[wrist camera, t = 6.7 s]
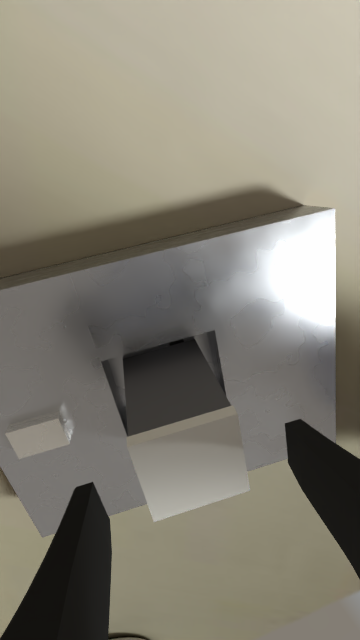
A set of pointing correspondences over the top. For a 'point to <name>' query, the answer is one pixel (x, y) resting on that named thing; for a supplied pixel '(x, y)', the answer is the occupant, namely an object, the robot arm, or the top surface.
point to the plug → (181, 431)
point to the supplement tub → (128, 638)
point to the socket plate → (158, 332)
